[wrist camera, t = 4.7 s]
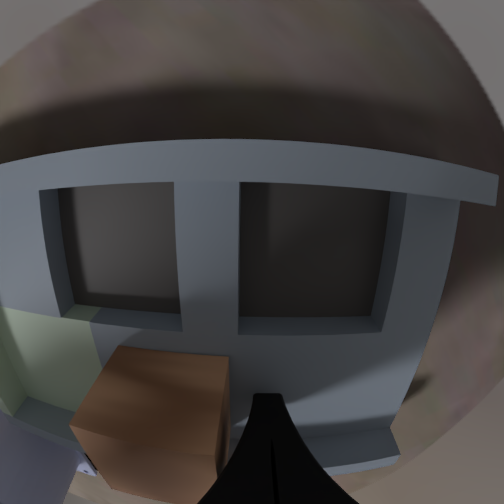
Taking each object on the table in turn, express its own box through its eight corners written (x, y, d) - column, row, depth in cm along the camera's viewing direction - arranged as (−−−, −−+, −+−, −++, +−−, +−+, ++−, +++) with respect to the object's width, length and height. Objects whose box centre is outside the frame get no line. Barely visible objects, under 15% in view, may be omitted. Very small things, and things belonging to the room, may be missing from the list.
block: (139, 416, 12) (111, 488, 8) (118, 345, 11) (68, 424, 6) (230, 427, 12) (222, 509, 8) (228, 356, 11) (214, 455, 6)
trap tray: (32, 389, 14) (9, 422, 11) (-25, 174, 10) (-72, 186, 6) (376, 419, 14) (393, 464, 11) (441, 165, 10) (499, 175, 7)
